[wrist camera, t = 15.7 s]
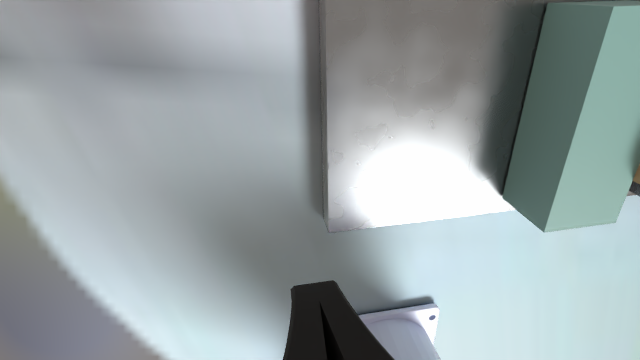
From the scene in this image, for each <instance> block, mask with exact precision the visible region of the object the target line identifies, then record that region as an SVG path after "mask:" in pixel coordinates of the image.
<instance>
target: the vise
mask: <svg viewBox="0 0 640 360" xmlns="http://www.w3.org/2000/svg"><path fill="white" fill-rule="evenodd" d="M588 1H616V0H319V25H320V72H321V119H322V166H323V213H324V221H325V224H326V227H327V229H328V232H329V233H333V232H341V231H349V230H357V229H365V228H373V227H381V226H389V225H397V224H405V223H413V222H421V221H429V220H438V219H446V218H454V217H462V216H470V215H478V214H486V213H494V212H502V211H510V210H516V209H515V208H514V207H512V206H511V205H510V204H509V203H508V202H506V201H505V200H504V199H503V198H502V196H503V192H504V188H505V183H506V179H507V175H508V171H509V166H510V162H511V158H512V153H513V149H514V145H515V141H516V136H517V132H518V128H519V123H520V119H521V115H522V111H523V106H524V102H525V98H526V93H527V89H528V85H529V81H530V76H531V72H532V68H533V64H534V59H535V55H536V51H537V46H538V42H539V38H540V34H541V29H542V25H543V21H544V16H545V12H546V8H547V4H548V3H560V2H588ZM635 1H640V0H635ZM631 195H638V196H640V184H638V183H636V182H634V181H632V184H631V186H630V188H629V191H628V193H627V196H631Z"/></svg>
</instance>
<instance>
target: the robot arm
mask: <svg viewBox="0 0 640 360" xmlns="http://www.w3.org/2000/svg"><path fill="white" fill-rule="evenodd" d="M291 298H292V308H291V318H290V326H289V332H288V338H287V343H286V348H285V353H284V357H283V360H441V359H440V357H439V355H438V353H437V351H436V350H435V348H434V340H435V334H436V329H437V323H438V317H439V308H438V306H437V305H436V304H426V305H420V306H414V307H407V308H401V309H395V310H388V311H382V312H376V313H369V314H363V315H357V314H356V312H355V311H354V309H353V308H352V306H351V305H350V304H349V302H348V301H347V299H346V298H345V296H344V295H343V293H342V291H341V290H340V288H339V286H338V285H337V283H336V282H335V281H333V280H332V281H325V282H318V283H311V284H304V285H297V286H294V287H293V288H292V289H291Z"/></svg>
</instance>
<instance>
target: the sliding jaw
mask: <svg viewBox="0 0 640 360" xmlns="http://www.w3.org/2000/svg"><path fill="white" fill-rule="evenodd" d="M639 164H640V1H635V0H616V1H588V2H560V3H548V4H547V8H546V12H545V16H544V21H543V25H542V29H541V34H540V38H539V42H538V46H537V51H536V55H535V59H534V64H533V68H532V72H531V76H530V81H529V85H528V89H527V93H526V98H525V102H524V106H523V111H522V115H521V119H520V123H519V128H518V132H517V136H516V141H515V145H514V149H513V153H512V158H511V162H510V166H509V171H508V175H507V179H506V183H505V188H504V192H503V196H502V198H503V199H504V200H505V201H506V202H508V203H509V204H510V205H511V206H512V207H514V208H515V209H516V210H517V211H518V212H520V213H521V214H522V215H523V216H525V217H526V218H527V219H528V220H529V221H531V222H532V223H533V224H534V225H535V226H537V227H538V228H539V229H540V230H542V231H543V232H551V231H559V230H566V229H574V228H581V227H588V226H596V225H603V224H610V223H616V220H617V218H618V215H619V213H620V210H621V208H622V205H623V203H624V201H625V198H626V196H627V193H628V191H629V188H630V186H631V184H632V181H633V179H634V176H635V174H636V171H637V169H638V166H639Z"/></svg>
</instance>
